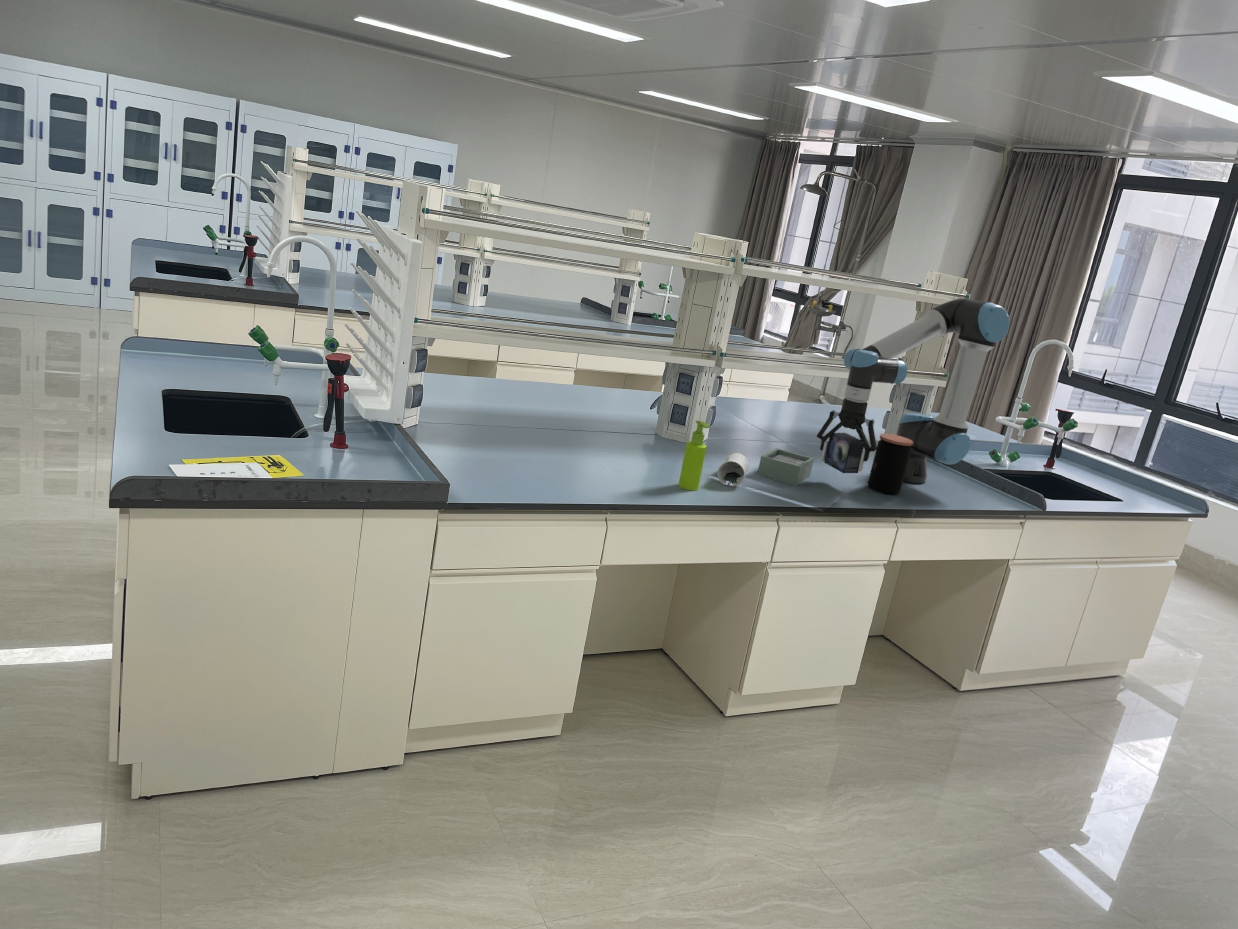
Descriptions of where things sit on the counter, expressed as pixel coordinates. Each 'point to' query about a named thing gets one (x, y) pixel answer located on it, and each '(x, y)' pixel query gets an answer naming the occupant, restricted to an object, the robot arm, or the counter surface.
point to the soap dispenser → (693, 459)
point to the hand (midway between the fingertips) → (841, 465)
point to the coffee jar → (890, 464)
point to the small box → (844, 452)
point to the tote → (785, 467)
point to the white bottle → (734, 467)
